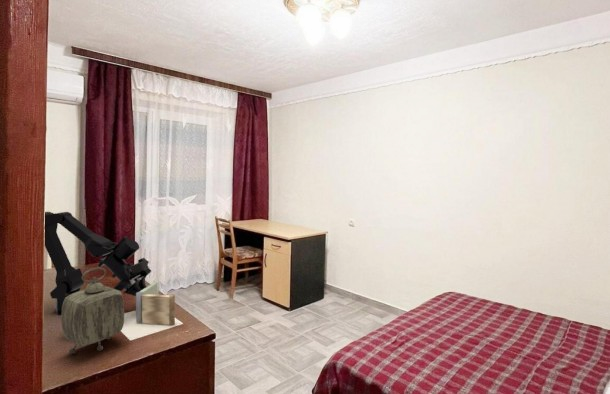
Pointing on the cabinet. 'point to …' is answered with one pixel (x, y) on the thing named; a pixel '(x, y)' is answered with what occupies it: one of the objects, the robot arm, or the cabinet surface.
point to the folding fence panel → (149, 289)
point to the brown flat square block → (158, 309)
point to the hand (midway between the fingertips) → (147, 297)
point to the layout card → (141, 327)
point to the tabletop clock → (92, 313)
